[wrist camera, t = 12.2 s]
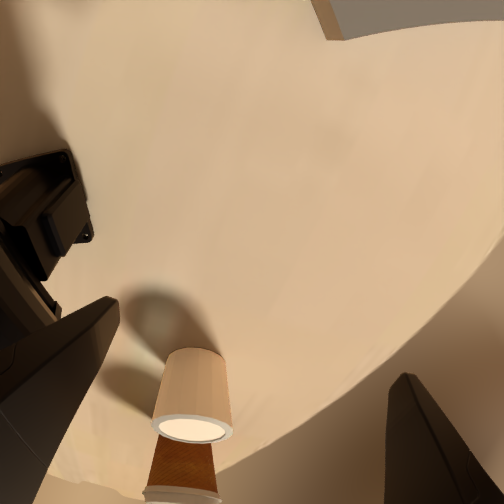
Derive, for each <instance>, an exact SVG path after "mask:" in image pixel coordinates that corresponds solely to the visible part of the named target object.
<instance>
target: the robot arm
mask: <svg viewBox="0 0 504 504" xmlns="http://www.w3.org/2000/svg"><path fill="white" fill-rule="evenodd" d="M62 155H64V156H65V158H66V160H63V159H62ZM1 171H2V173H1ZM89 218H90V214H89V211H88V207H87V204H86V200H85V197H84V193H83V190H82V186H81V183H80V182H79V180H78V178H77V174H76V170H75V166H74V162H73V158H72V154H71V152H70V151H69V150H67V149H61V150H56V151H52V152H47V153H43V154H39V155H35V156H31V157H27V158H23V159H19V160H15V161H11V162H8V163H4V164H1V165H0V504H32V503H33V501H34V499H35V497H36V494H37V492H38V490H39V488H40V485H41V483H42V481H43V479H44V477H45V474H46V472H47V470H48V468H49V466H50V463H51V461H52V459H53V457H54V455H55V453H56V451H57V449H58V447H59V445H60V443H61V441H62V439H63V437H64V435H65V433H66V431H67V429H68V427H69V425H70V423H71V421H72V419H73V417H74V415H75V414H76V412H77V410H78V408H79V406H80V404H81V402H82V400H83V398H84V397H85V395H86V393H87V391H88V389H89V387H90V386H91V384H92V382H93V380H94V378H95V377H96V375H97V373H98V371H99V369H100V367H101V365H102V363H103V361H104V359H105V356H106V354H107V352H108V349H109V347H110V345H111V342H112V340H113V338H114V335H115V333H116V331H117V328H118V326H119V323H120V311H119V302H118V300H117V299H115V298H112V297H109V296H104V297H102V298H100V299H98V300H96V301H94V302H92V303H91V304H89V305H87V306H85V307H83V308H81V309H79V310H77V311H75V312H73V313H71V314H69V315H67V316H65V317H63V318H61V312H62V308H61V307H60V305H59V304H58V303H57V301H54V300H53V299H52V297H51V296H50V295H49V293H48V292H47V290H46V289H45V288H44V286H43V285H42V284H41V282H40V281H47V280H48V278H49V276H50V275H51V273H52V271H53V270H54V268H55V266H56V264H57V263H58V261H59V259H60V258H61V257H65V256H66V254H67V252H68V251H69V249H70V247H71V246H72V244H77V243H88V242H90V241H91V240H92V239H93V237H94V232H93V229H92V226H91V222H90V219H89ZM84 233H86V234H88V236H86V235H85V234H84ZM385 434H386V436H385V444H386V445H385V449H386V452H385V456H386V457H385V459H386V460H385V493H384V504H504V494H503V493H502V492H501V490H500V489H499V488H498V487H497V486H496V484H495V483H494V482H493V480H492V479H491V478H490V477H489V475H488V474H487V473H486V472H485V470H484V469H483V468H482V466H481V465H480V463H479V462H478V461H477V459H476V458H475V456H474V455H473V453H472V452H471V451H469V450H470V449H469V448H468V446H467V445H466V443H465V442H464V440H463V439H462V438H461V436H460V435H459V433H458V432H457V430H456V429H455V428H454V426H453V425H452V423H451V422H450V421H449V419H448V418H447V417H446V415H445V414H444V412H443V411H442V410H441V408H440V407H439V406H438V404H437V403H436V401H435V400H434V399H433V397H432V396H431V395H430V393H429V392H428V391H427V389H426V388H425V387H424V385H423V384H422V383H421V381H420V380H419V379H418V377H417V376H416V375H415V374H414V373H408V372H404V373H402V374H401V375H400V376H399V377H398V378H397V380H396V381H395V382H394V383H393V385H392V386H391V387H390V389H389V393H388V408H387V420H386V433H385Z"/></svg>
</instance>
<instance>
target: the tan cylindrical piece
mask: <svg viewBox="0 0 504 504" xmlns="http://www.w3.org/2000/svg"><path fill="white" fill-rule="evenodd" d="M151 426H152V428H153V429H154V431H156V432H157V433H159V434H160V435H162V436H164V437H167V438H170V439H172V440H176V441H181V442H186V443H200V444H205V443H215V442H219V441H223V440H226V439H228V438H229V437H230V436H231V435H233V427H232V418H231V409H230V400H229V391H228V382H227V372H226V362H225V361H224V360H223V358H222V357H221V356H220V355H218V354H216V353H214V352H213V351H210V350H206V349H202V348H183V349H178V350H176V351H174V352H172V353H171V354H169V356H168V359H167V361H166V365H165V369H164V373H163V377H162V380H161V384H160V388H159V392H158V397H157V401H156V405H155V409H154V413H153V417H152V422H151Z"/></svg>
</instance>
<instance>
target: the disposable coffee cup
mask: <svg viewBox="0 0 504 504" xmlns="http://www.w3.org/2000/svg"><path fill="white" fill-rule="evenodd" d="M142 494H143V495H144V497H145V502H146V504H219V503H220V502H222V500H221V498H220V495H219V494H218V491H217V485H216V478H215V470H214V463H213V455H212V447H211V443H205V444H200V443H186V442H181V441H176V440H172V439H170V438H167V437H164V436H162V435H160V434H159V437H158V441H157V445H156V449H155V453H154V457H153V461H152V466H151V470H150V474H149V479H148V483H147V486H146V487H145V490H144V491H143V492H142Z"/></svg>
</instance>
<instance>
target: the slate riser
mask: <svg viewBox="0 0 504 504" xmlns="http://www.w3.org/2000/svg"><path fill="white" fill-rule="evenodd" d="M311 2H312V4H313V7H314V9H315V11H316V14H317V16H318V19H319V21H320V24H321V26H322V29H323V31H324V34H325V37H326V39H327V40H342V41H345V40H349V39H353V38H358V37H362V36H367V35H372V34H377V33H382V32H387V31H393V30H399V29H405V28H412V27H419V26H426V25H435V24H444V23H456V22H471V21H504V0H311Z"/></svg>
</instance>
